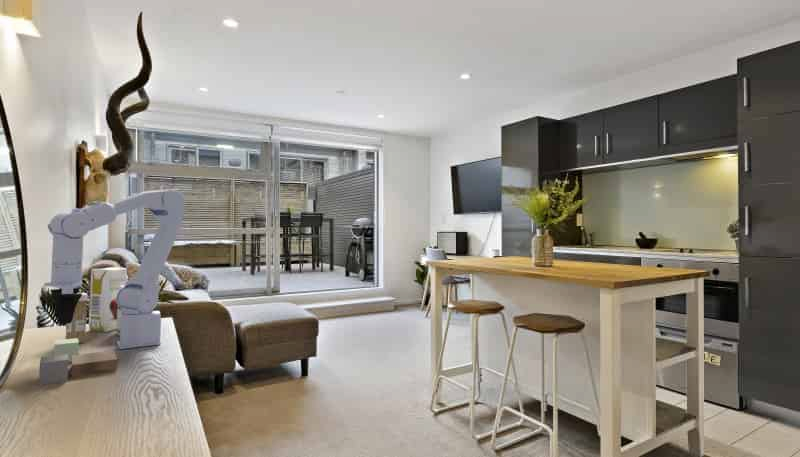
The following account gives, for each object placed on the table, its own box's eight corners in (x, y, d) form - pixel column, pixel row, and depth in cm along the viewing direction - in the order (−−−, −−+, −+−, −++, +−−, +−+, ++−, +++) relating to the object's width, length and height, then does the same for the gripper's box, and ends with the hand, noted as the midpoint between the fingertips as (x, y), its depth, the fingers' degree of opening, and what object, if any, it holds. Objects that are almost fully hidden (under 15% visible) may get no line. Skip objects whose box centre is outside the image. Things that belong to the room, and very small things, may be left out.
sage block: (77, 356, 104) (78, 338, 104) (77, 361, 101) (78, 342, 101) (53, 359, 102) (54, 340, 102) (53, 364, 98) (54, 344, 98)
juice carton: (84, 331, 128) (86, 268, 128) (107, 325, 137) (110, 266, 137) (105, 333, 127) (108, 269, 127) (128, 327, 135) (131, 267, 136)
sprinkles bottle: (85, 343, 115) (87, 294, 115) (63, 345, 113) (65, 295, 113) (86, 339, 119) (88, 292, 119) (65, 341, 116) (67, 292, 117)
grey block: (67, 375, 91) (68, 354, 91) (67, 381, 88) (68, 359, 88) (39, 379, 89) (40, 357, 89) (38, 385, 85) (39, 363, 85)
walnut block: (113, 362, 101) (114, 350, 101) (116, 372, 95) (117, 359, 95) (71, 368, 96) (71, 355, 96) (71, 378, 90) (72, 364, 90)
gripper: (45, 261, 104) (42, 317, 103) (45, 266, 93) (42, 328, 92) (81, 261, 108) (78, 314, 108) (85, 265, 97) (82, 324, 97)
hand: (64, 320), depth 101 cm, fingers open, 7 cm apart
